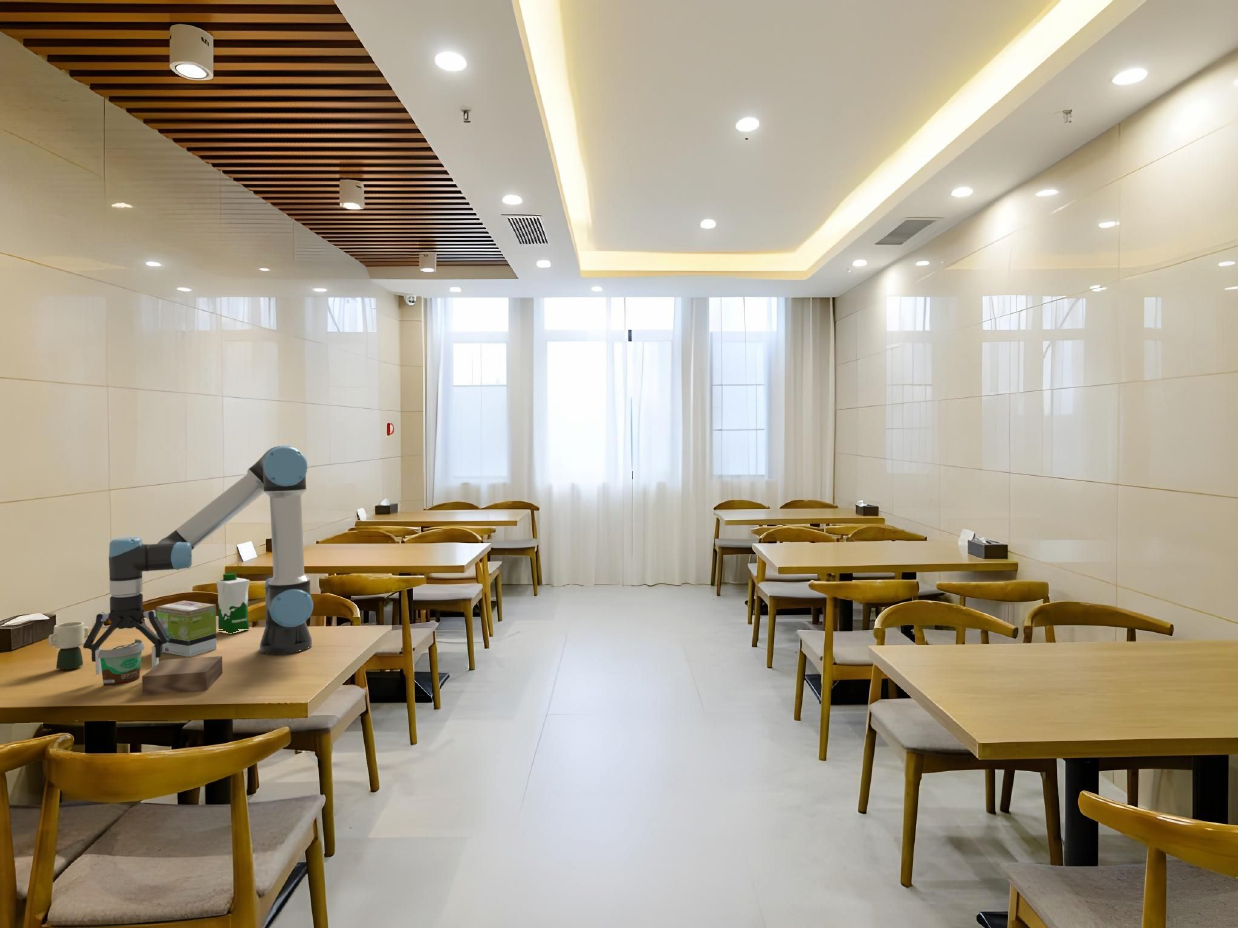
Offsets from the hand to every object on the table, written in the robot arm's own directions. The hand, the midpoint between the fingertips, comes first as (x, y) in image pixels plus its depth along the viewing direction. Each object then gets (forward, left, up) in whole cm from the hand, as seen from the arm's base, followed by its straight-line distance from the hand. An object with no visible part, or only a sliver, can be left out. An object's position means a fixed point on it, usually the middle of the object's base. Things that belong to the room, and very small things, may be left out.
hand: (127, 671), depth 200 cm
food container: (0, 0, -3) cm, 3 cm away
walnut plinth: (-16, +7, -3) cm, 18 cm away
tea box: (-6, -29, -3) cm, 30 cm away
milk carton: (-14, -52, -3) cm, 54 cm away
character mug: (+21, -17, -3) cm, 27 cm away
